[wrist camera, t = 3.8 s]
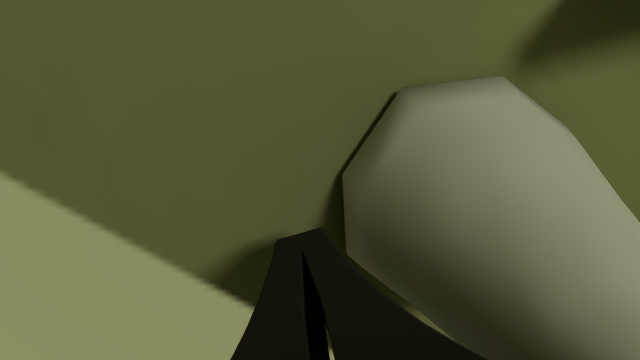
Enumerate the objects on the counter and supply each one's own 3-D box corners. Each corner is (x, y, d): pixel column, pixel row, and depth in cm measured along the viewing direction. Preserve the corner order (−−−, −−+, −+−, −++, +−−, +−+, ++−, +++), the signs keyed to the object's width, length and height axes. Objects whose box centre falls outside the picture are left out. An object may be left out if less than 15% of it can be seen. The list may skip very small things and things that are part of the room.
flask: (495, 286, 14) (883, 750, 6) (311, 268, 13) (455, 912, 4) (597, 100, 12) (1697, 450, 3) (377, 43, 10) (1552, 536, 1)
